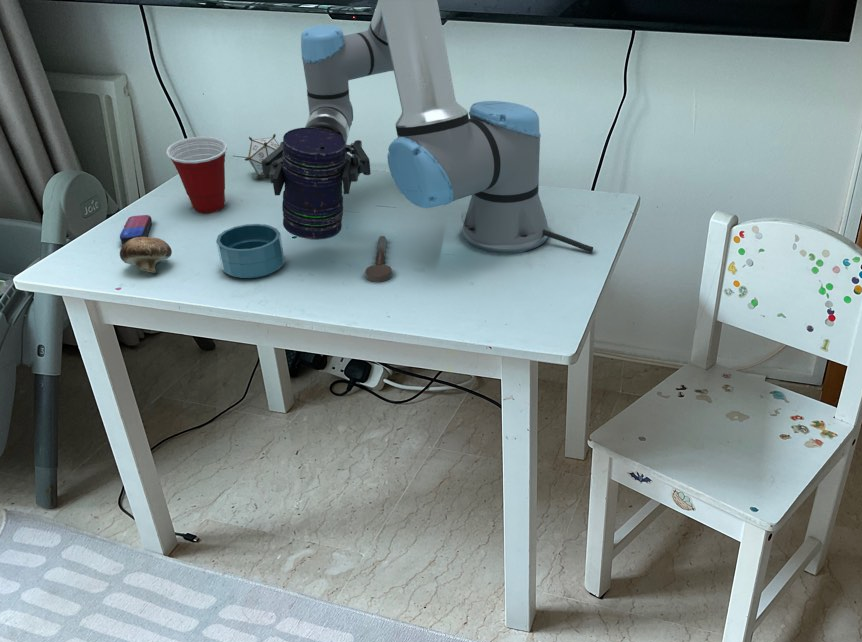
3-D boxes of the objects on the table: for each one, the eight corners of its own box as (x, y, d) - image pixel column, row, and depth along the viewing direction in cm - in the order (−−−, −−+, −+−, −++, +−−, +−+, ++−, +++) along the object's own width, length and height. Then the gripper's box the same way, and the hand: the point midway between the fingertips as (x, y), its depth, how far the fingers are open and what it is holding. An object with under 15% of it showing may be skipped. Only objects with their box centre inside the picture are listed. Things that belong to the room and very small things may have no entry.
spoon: (370, 242, 159) (369, 234, 158) (395, 241, 159) (394, 234, 159) (364, 282, 147) (364, 274, 146) (391, 281, 147) (391, 273, 146)
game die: (276, 188, 189) (293, 143, 188) (280, 188, 181) (298, 142, 180) (234, 170, 185) (252, 124, 184) (237, 170, 177) (255, 122, 176)
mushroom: (150, 267, 144) (142, 229, 144) (114, 279, 147) (105, 242, 147) (185, 269, 152) (177, 233, 152) (149, 281, 155) (141, 246, 155)
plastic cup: (178, 222, 166) (163, 159, 159) (181, 199, 175) (167, 139, 168) (238, 216, 168) (226, 154, 161) (238, 194, 177) (227, 134, 170)
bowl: (295, 257, 154) (290, 227, 151) (266, 284, 146) (260, 253, 143) (242, 250, 157) (236, 220, 153) (211, 276, 149) (204, 246, 145)
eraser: (131, 222, 166) (128, 213, 165) (154, 220, 167) (151, 211, 166) (119, 247, 157) (117, 237, 156) (143, 245, 158) (141, 236, 157)
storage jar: (272, 215, 150) (272, 130, 141) (326, 207, 155) (329, 124, 146) (297, 244, 145) (298, 157, 135) (352, 234, 150) (357, 150, 140)
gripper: (391, 156, 160) (385, 207, 142) (263, 158, 159) (241, 210, 141) (388, 114, 156) (381, 161, 138) (256, 116, 155) (233, 164, 137)
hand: (310, 186), depth 140 cm, fingers closed on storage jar, 10 cm apart
